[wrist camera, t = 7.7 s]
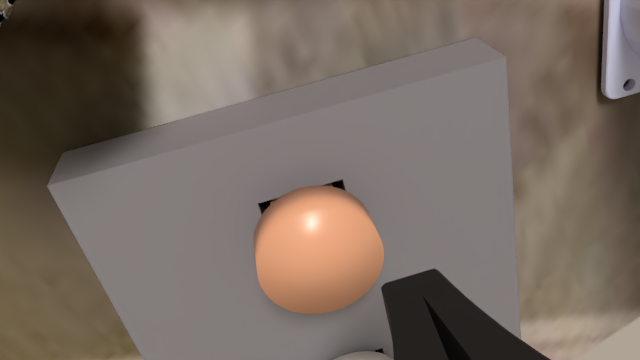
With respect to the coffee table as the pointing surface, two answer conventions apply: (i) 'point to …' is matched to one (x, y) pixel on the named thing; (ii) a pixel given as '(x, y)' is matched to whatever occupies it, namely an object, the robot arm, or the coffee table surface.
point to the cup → (6, 9)
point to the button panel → (290, 174)
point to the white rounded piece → (364, 356)
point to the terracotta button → (317, 250)
